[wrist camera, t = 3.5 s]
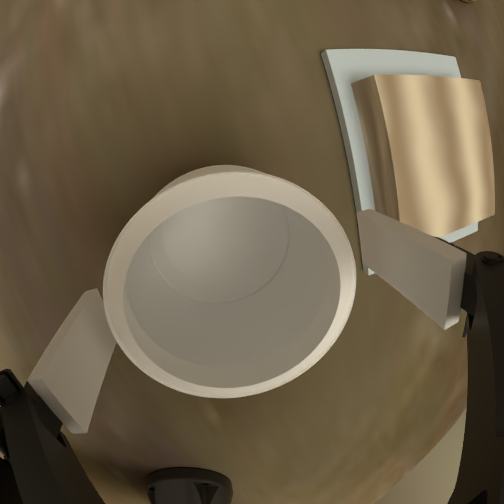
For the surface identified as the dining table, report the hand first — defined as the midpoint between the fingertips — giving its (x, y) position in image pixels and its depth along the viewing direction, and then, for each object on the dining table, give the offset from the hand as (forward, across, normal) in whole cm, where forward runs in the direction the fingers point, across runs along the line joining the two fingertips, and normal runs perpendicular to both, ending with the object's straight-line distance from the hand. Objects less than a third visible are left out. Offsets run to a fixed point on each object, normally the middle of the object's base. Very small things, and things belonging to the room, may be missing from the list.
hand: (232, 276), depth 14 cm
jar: (+13, 0, 0) cm, 13 cm away
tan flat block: (+12, +22, +2) cm, 25 cm away
